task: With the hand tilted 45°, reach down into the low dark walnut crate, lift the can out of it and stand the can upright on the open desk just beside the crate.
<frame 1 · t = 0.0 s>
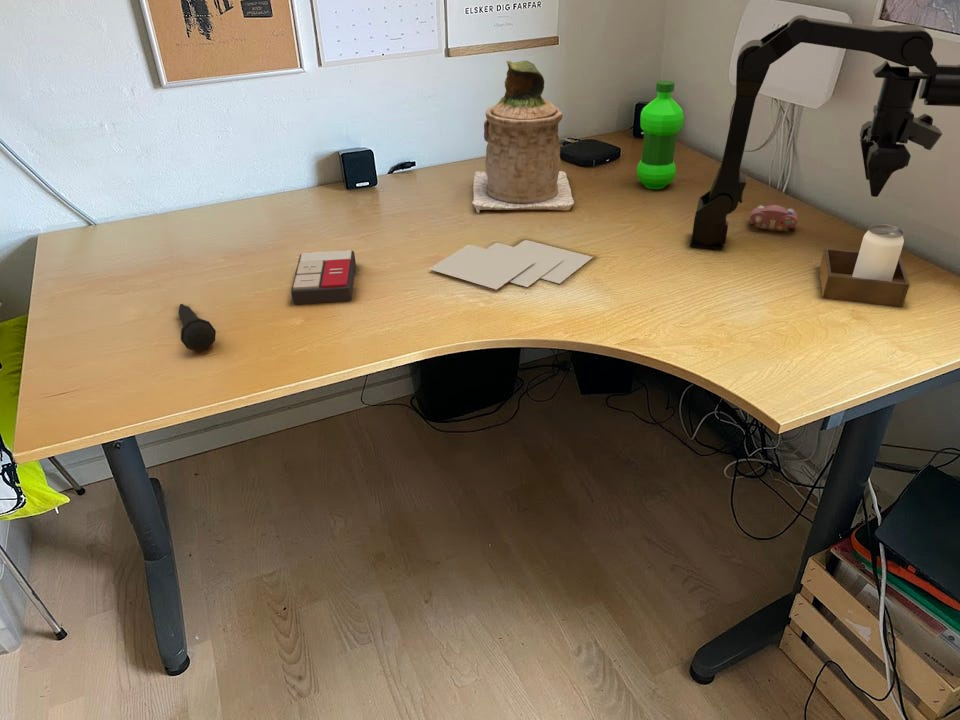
hand: (871, 187, 137), 15 cm above the table, tool pointing down, fingers open, 9 cm apart
plastic bottle: (654, 186, 183), on the table
crate: (858, 287, 135), on the table
paper stack: (511, 265, 147), on the table
cookie jar: (521, 195, 181), on the table
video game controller: (771, 229, 158), on the table
can: (867, 291, 134), resting in crate
calculator: (326, 285, 143), on the table
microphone: (197, 331, 129), on the table
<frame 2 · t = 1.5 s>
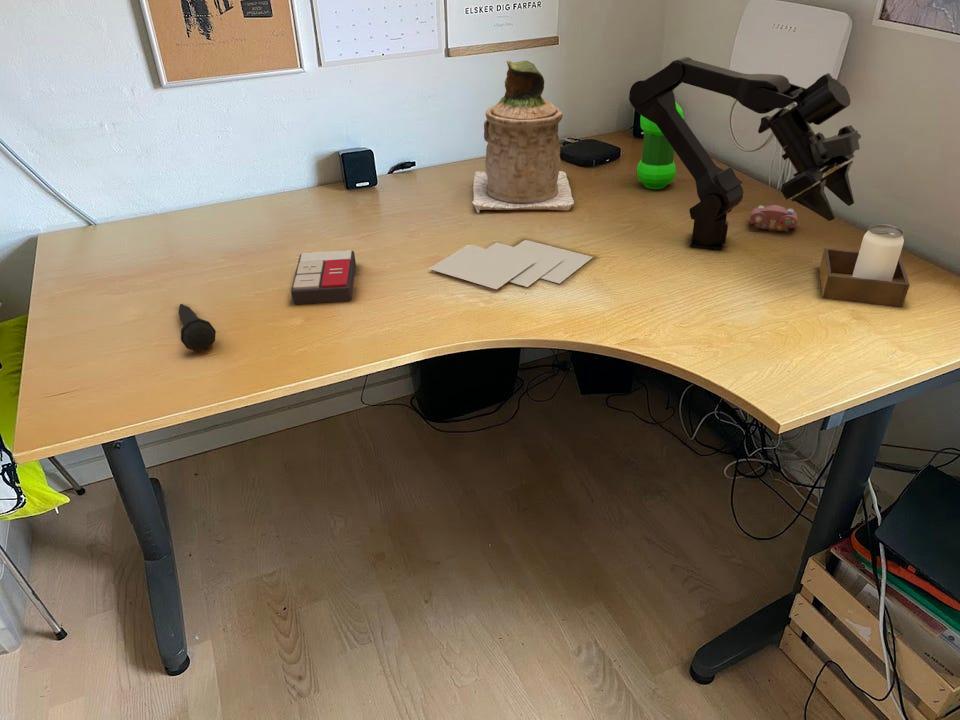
hand: (842, 212, 131), 13 cm above the table, tool tilted 45°, fingers open, 9 cm apart
nothing on the table moved.
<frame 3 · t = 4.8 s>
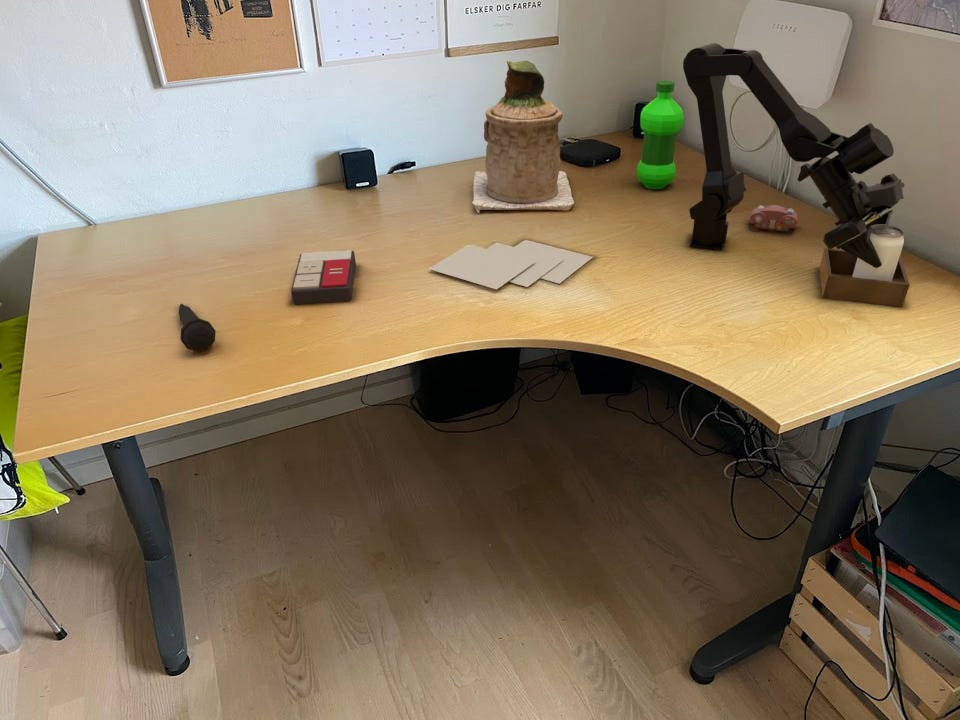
hand: (885, 260, 129), 7 cm above the table, tool tilted 45°, fingers closed on can, 6 cm apart
can: (867, 291, 134), resting in crate, touching gripper
everything else where it was.
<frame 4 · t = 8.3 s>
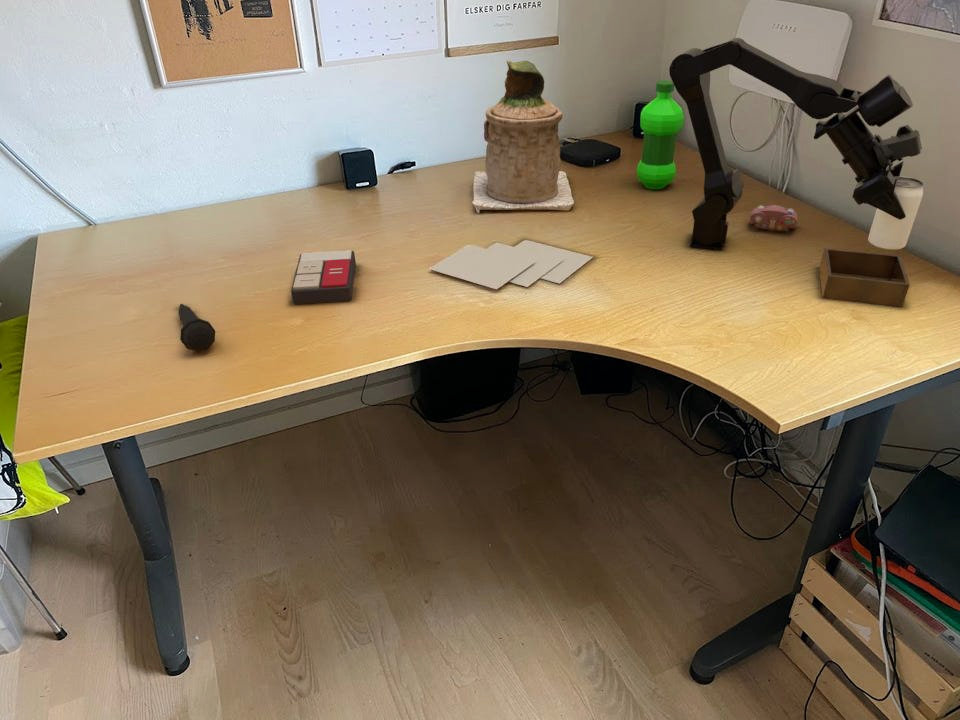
hand: (905, 211, 131), 13 cm above the table, tool tilted 45°, fingers closed on can, 6 cm apart
can: (885, 244, 135), point 6 cm above the table, touching gripper
everything else where it was.
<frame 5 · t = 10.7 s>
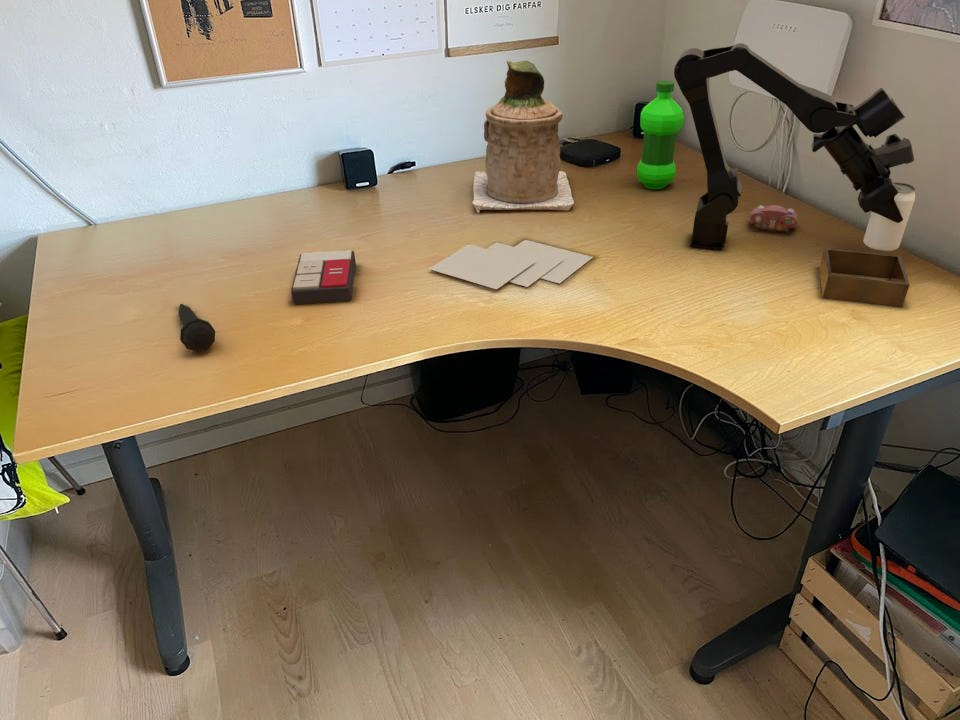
hand: (898, 214, 138), 10 cm above the table, tool tilted 45°, fingers closed on can, 6 cm apart
can: (880, 246, 142), point 3 cm above the table, touching gripper
everything else where it was.
when the fingers open (7 cm above the table, at t = 12.2 s): can stays where it is, on the table.
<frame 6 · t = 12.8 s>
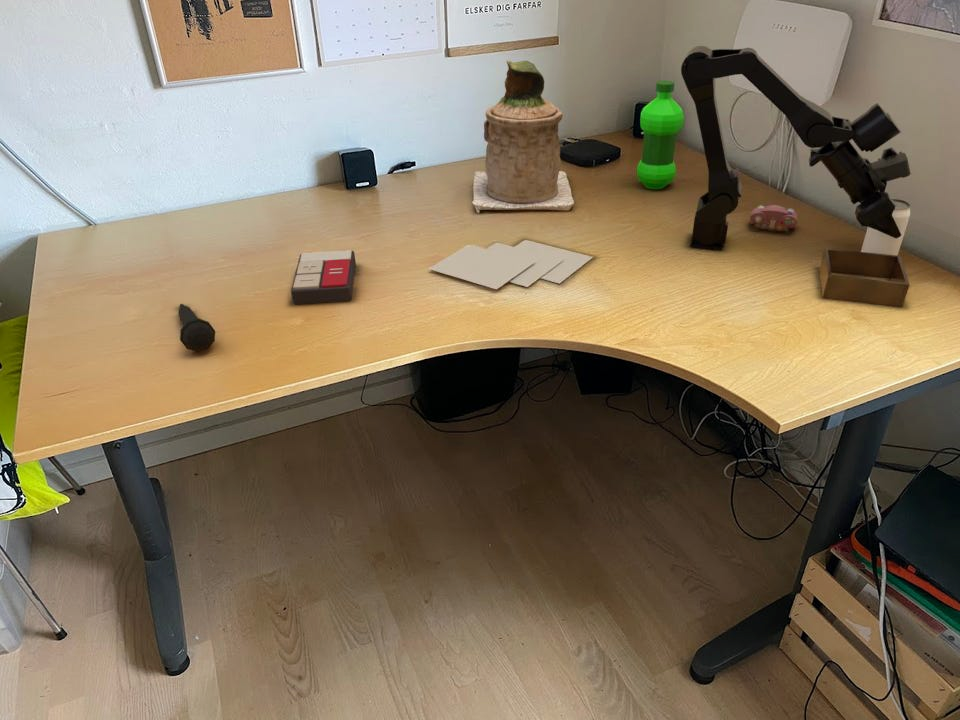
hand: (895, 227, 140), 7 cm above the table, tool tilted 45°, fingers open, 9 cm apart
can: (876, 261, 144), on the table
everything else where it was.
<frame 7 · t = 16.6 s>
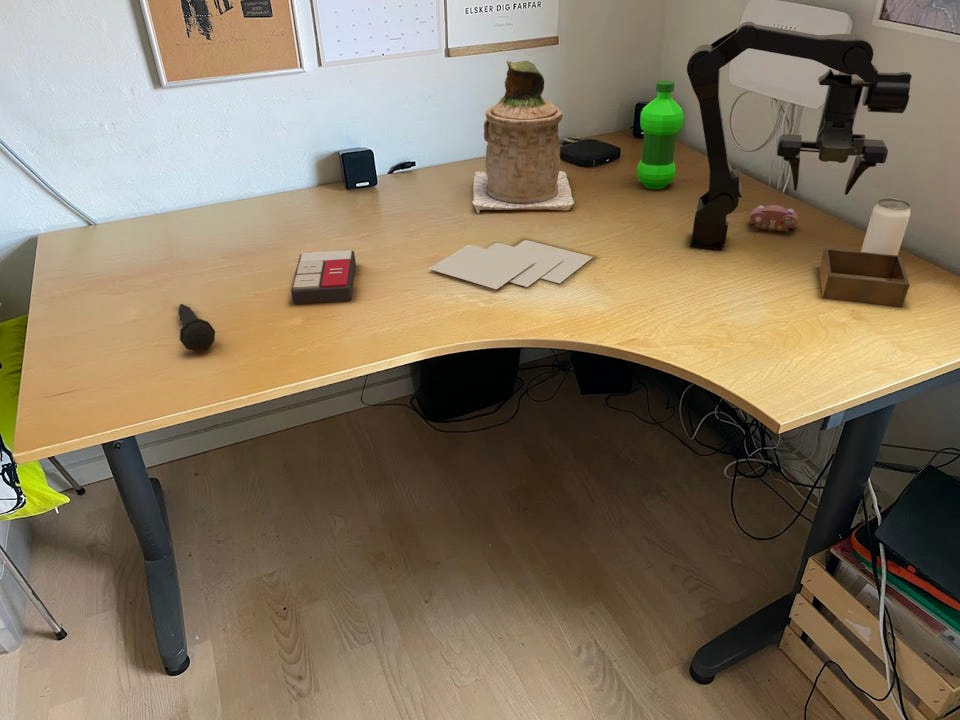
hand: (820, 191, 141), 13 cm above the table, tool pointing down, fingers open, 9 cm apart
nothing on the table moved.
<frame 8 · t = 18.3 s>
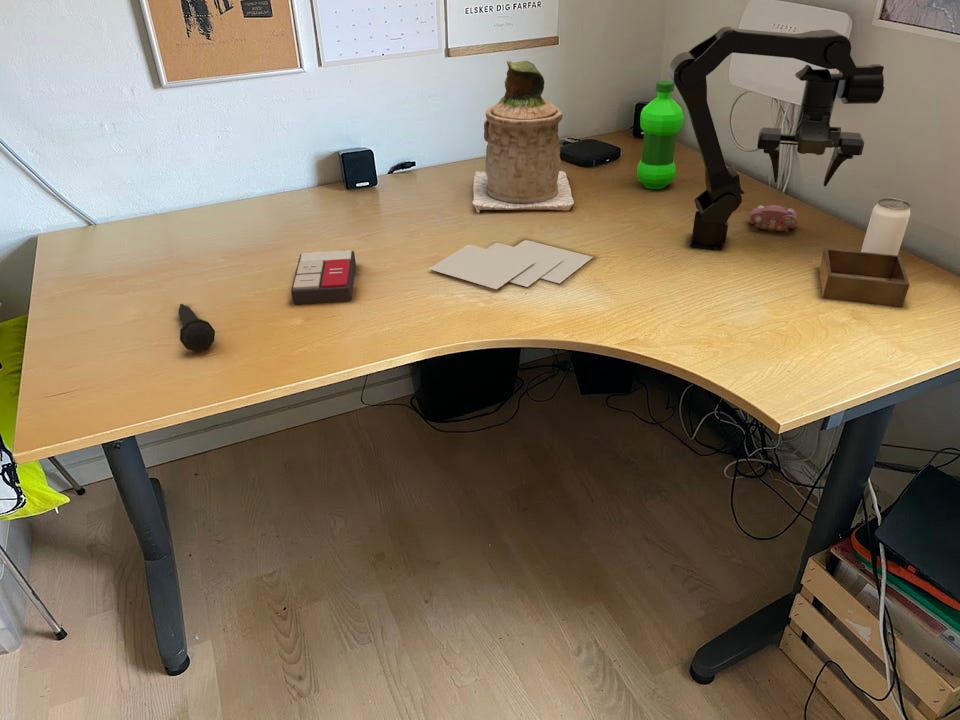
hand: (799, 183, 145), 13 cm above the table, tool pointing down, fingers open, 9 cm apart
nothing on the table moved.
at the end: can inside the target area (0.1 cm from its centre), on the table; can tilted 0°; the gripper is holding nothing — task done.
